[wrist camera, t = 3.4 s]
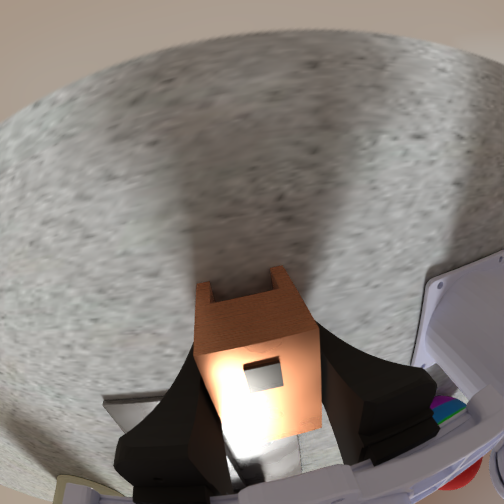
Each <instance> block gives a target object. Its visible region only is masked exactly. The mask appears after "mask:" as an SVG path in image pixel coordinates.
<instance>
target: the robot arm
mask: <svg viewBox="0 0 504 504" xmlns="http://www.w3.org/2000/svg"><path fill="white" fill-rule="evenodd" d="M315 322H316V321H315ZM316 324H317V325H318V327H319V336H320V359H321V397H322V403H323V405H324V407H325V410H326V412H327V415H328V418H329V421H330V423H331V426H332V429H333V432H334V435H335V438H336V441H337V444H338V447H339V450H340V453H341V456H342V459H343V463H344V465H343V464H337V465H332V466H328V467H324V468H320V469H317V470H314V471H310V472H306V473H303V474H299V475H295V476H291V477H287V478H282V479H278V480H273V481H268V482H263V483H259V484H255V485H251V486H248V487H246V488H244V489H242V490H241V491H240V492H239V493H238V494H234V491H233V487H232V482H231V478H230V473H229V468H228V462H227V457H226V451H225V445H224V438H223V431H222V422H221V419H220V417H219V415H218V413H217V411H216V409H215V406H214V404H213V402H212V400H211V397H210V395H209V393H208V390H207V388H206V386H205V383H204V381H203V379H202V376H201V374H200V371H199V369H198V367H197V364H196V362H195V359H194V357H193V351H194V342H193V345H192V347H191V349H190V352H189V354H188V356H187V358H186V360H185V362H184V364H183V366H182V368H181V370H180V372H179V374H178V376H177V377H176V379H175V381H174V382H173V384H172V386H171V387H170V389H169V390H168V392H167V393H166V394H165V396H164V397H163V398H162V400H161V401H160V402H159V403H158V405H157V406H156V407H155V408H154V409H153V410H152V411H151V412H150V413H149V414H148V415H147V416H146V417H145V418H144V419H143V420H142V421H141V422H140V423H139V424H137V425H136V426H135V427H134V428H132V429H131V430H130V431H128V432H127V433H126V434H124V435H123V436H122V437H120V438H119V441H118V444H117V448H116V453H115V459H114V465H113V466H114V468H115V470H116V471H117V472H118V473H119V474H120V475H121V476H122V477H123V478H124V479H125V480H127V481H128V482H129V483H130V484H132V485H133V486H134V487H133V497H121V496H111V495H103V494H99V493H98V492H97V491H96V490H94V489H93V488H91V487H88V486H85V485H79V484H73V483H66V487H65V492H64V496H63V502H62V504H414V503H416V502H417V501H419V500H421V499H423V498H424V497H426V496H428V495H429V494H431V493H432V492H434V491H436V490H437V489H439V488H440V487H442V486H443V485H445V484H446V483H448V482H449V481H451V480H452V479H453V478H455V477H456V476H458V475H459V474H460V473H462V472H463V471H464V470H466V469H467V468H468V467H470V466H471V465H472V464H474V463H475V462H476V461H477V460H479V459H480V458H481V457H483V456H484V455H485V454H486V453H488V452H489V451H490V450H491V449H492V448H493V449H492V451H491V455H490V461H489V471H490V477H491V480H492V483H493V485H494V488H495V489H496V491H497V493H498V494H499V495H500V496H501V497H502V498H503V499H504V249H503V250H501V251H499V252H497V253H494V254H492V255H490V256H487V257H485V258H482V259H480V260H478V261H475V262H473V263H470V264H468V265H465V266H463V267H460V268H458V269H455V270H452V271H450V272H447V273H444V274H442V275H439V276H436V277H434V278H431V279H430V280H429V281H428V282H427V284H426V287H425V295H424V302H423V308H422V315H421V320H420V326H419V331H418V336H417V341H416V346H415V350H414V355H413V359H412V363H411V366H407V365H402V364H398V363H393V362H390V361H386V360H383V359H380V358H377V357H375V356H372V355H369V354H367V353H365V352H363V351H361V350H358V349H356V348H354V347H353V346H351V345H349V344H347V343H346V342H344V341H343V340H341V339H339V338H338V337H336V336H335V335H334V334H332V333H331V332H329V331H328V330H327V329H325V328H324V327H323V326H321V325H320V324H319V323H318V322H316ZM436 363H437V364H438V365H439V366H440V367H441V368H442V369H443V371H444V372H445V373H446V374H447V375H448V376H449V378H450V379H451V380H452V381H453V382H454V383H455V385H456V386H457V387H458V388H459V389H460V390H461V392H462V393H463V394H464V395H465V396H466V398H467V399H468V400H469V402H468V403H467V406H466V408H465V409H463V410H462V411H460V412H459V413H457V414H456V415H454V416H453V417H451V418H449V419H448V420H446V421H444V422H443V423H441V424H439V425H438V424H437V422H436V421H435V419H434V418H433V417H432V416H433V415H434V412H433V410H432V409H431V408H430V406H431V403H432V401H433V399H434V396H435V393H436V390H437V384H436V382H435V381H434V380H433V379H432V377H431V376H430V375H429V374H428V373H427V372H426V371H425V370H424V369H426V368H428V367H430V366H432V365H434V364H436Z"/></svg>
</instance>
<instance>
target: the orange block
mask: <svg viewBox="0 0 504 504" xmlns="http://www.w3.org/2000/svg"><path fill="white" fill-rule="evenodd" d="M270 272H271V279H272V285H273V290H271V291H266V292H262V293H258V294H253V295H249V296H244V297H239V298H235V299H230V300H225V301H221V302H216V303H215V300H214V296H213V292H212V288H211V285H210V281H208V282H203V283H198V284H197V288H196V305H195V325H194V351H193V357H194V359H195V362H196V364H197V367H198V369H199V371H200V374H201V376H202V379H203V381H204V383H205V386H206V388H207V390H208V393H209V395H210V397H211V400H212V402H213V404H214V406H215V409H216V411H217V413H218V415H219V417H220V419H221V422H222V424H223V426H224V428H225V430H226V432H227V434H228V436H229V438H230V440H231V442H232V444H233V446H234V448H236V447H242V446H248V445H253V444H258V443H263V442H268V441H272V440H277V439H281V438H285V437H289V436H293V435H297V434H301V433H305V432H308V431H312V430H315V429H319V428H322V397H321V359H320V336H319V327H318V325H317V324H316V322H315V320H314V318H313V317H312V315H311V313H310V311H309V310H308V308H307V306H306V305H305V303H304V301H303V299H302V298H301V296H300V294H299V293H298V291H297V289H296V287H295V286H294V284H293V282H292V281H291V279H290V277H289V275H288V274H287V272H286V270H285V269H284V267H283V265H281V266H277V267H272V268H270Z"/></svg>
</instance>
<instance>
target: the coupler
mask: <svg viewBox="0 0 504 504" xmlns="http://www.w3.org/2000/svg"><path fill="white" fill-rule="evenodd" d="M163 397H164V396H160V397H150V398H139V399H125V400H107V401H103V406H104V408H105V409H106V410H107V412H108V413H109V414H110V416H111V417H112V418H113V419H114V421H115V422H116V423H117V424H118V426H119V427H120V428H121V429H122V430H123V432H124V433H125V434H126V433H127V432H128V431H130V430H131V429H132V428H134V427H135V426H136V425H137V424H139V423H140V422H141V421H142V420H143V419H144V418H145V417H146V416H147V415H148V414H149V413H150V412H151V411H152V410H153V409H154V408H155V407H156V406H157V405H158V403H159V402H160V401H161V400H162V398H163ZM222 431H223V438H224V445H225V451H226V457H227V462H228V468H229V473H230V478H231V482H232V487H233V491H234V494H238V493H239V492H240V491H241V490H242V489H244V488H246V487H248V486H251V485H255V484H259V483H263V482H268V481H273V480H278V479H282V478H287V477H291V476H295V475H299V474H302V470H301V461H300V453H299V445H298V437H297V435H293V436H289V437H285V438H281V439H277V440H272V441H268V442H263V443H258V444H253V445H248V446H242V447H236V448H234V446H233V444H232V442H231V440H230V438H229V436H228V434H227V432H226V430H225V428H224V426H223V424H222Z"/></svg>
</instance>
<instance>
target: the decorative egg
mask: <svg viewBox="0 0 504 504" xmlns="http://www.w3.org/2000/svg"><path fill="white" fill-rule="evenodd" d="M466 406H467V405H466V404H465V403H463V402H462V401H460V400H458V399H456V398H453V397H449V396H436V397H434V399H433V401H432V403H431V406H430V408H431V409H432V410H433V412H434V415H433V416H432V417H433V418H434V419H435V421H436V422H437V424H438V425H439V424H441V423H443V422H444V421H446V420H448V419H449V418H451V417H453V416H454V415H456V414H457V413H459V412H460V411H462V410H463V409H465V408H466ZM482 458H483V457H481V458H480V459H479V460H477V461H476V462H475V463H474V464H472V465H471V466H470V467H468V468H467V469H466V470H464V471H463V472H462V473H460V474H459V475H458V476H456V477H455V478H453V479H452V480H451V481H449V482H448V483H446V484H445V485H443V486H442V487H440V488H439V489H438V490H455V489H458V488H461V487H463V486H465V485H466V484H468V483H469V482H470V481H471V480H472V479H473V478H474V477H475V475H476V474H477V472H478V470H479V468H480V465H481V462H482Z"/></svg>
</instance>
